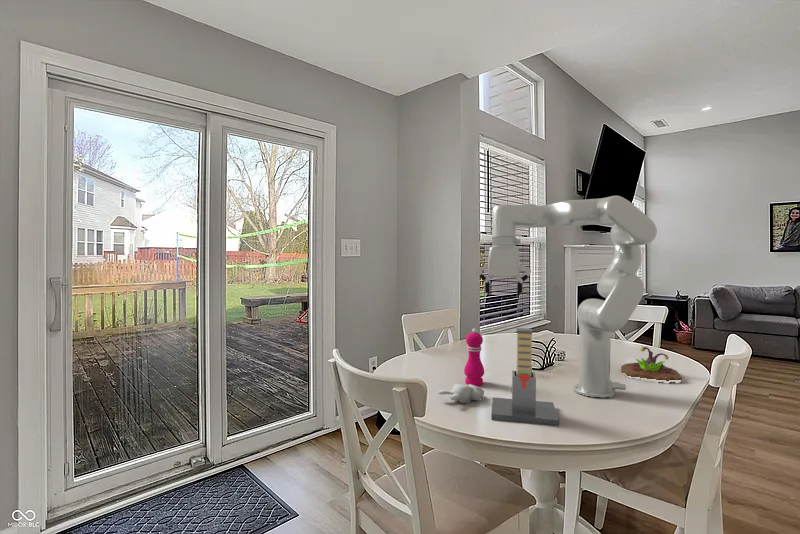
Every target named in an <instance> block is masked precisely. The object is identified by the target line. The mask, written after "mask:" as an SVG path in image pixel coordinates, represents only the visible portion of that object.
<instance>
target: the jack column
mask: <svg viewBox="0 0 800 534" xmlns="http://www.w3.org/2000/svg"><path fill="white" fill-rule="evenodd" d="M532 338H533V329H532V328H523V327H522V328H521V327H517V328H516V370H515V371H516V376H519V377H520V374H529V377H531V372H532V351H533V348H532V347H533V339H532Z"/></svg>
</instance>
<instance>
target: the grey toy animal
mask: <svg viewBox="0 0 800 534" xmlns="http://www.w3.org/2000/svg"><path fill="white" fill-rule="evenodd" d="M438 395H449V397H450V399H451V400H452V401H455V402H457V401H458V402H459V403H460V404H464V403H465V404H467V403H470V402H471V401H480V400H482V398H483V396H485V390H483V388H481V387H479V386H474V385H471V384H469V385H467V384H462V383H455V384H453V386H452V389H451V390H449V389H446V390H445V389H439V391H438Z"/></svg>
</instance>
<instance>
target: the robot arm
mask: <svg viewBox="0 0 800 534" xmlns="http://www.w3.org/2000/svg"><path fill="white" fill-rule="evenodd" d="M491 215H492V219H491V220H492V221H491V222H492V223H491V224H492V225H491V226H492V227H491V231H492V234H491V242H492V243H491V246H489V251H488V257H487V258H488V259H487V264H484V265H483V266H481V267H479V268H477V269H476V272H477V274H478V276H479V278H480V279H481V280H482V281H483V283H484V284H485V287H484V288H485V289H484V292H485V293H486V294H487V296H489V295H490V294H491V293H490V292H491V282H490V280H491V279H492V278H515V279H516V280H517V284H516V285H517V286H516V287H517V288H516V289H517V291H516V293H517V294H516V295H517V296H518V297H519V296H520V295H521V294H522V293H523V283H524V282H525V281H526V280H527V279H528V278H529V276H530V275H531V273H532V270H531V269H530V268H529V267H526V266H524V265H522V264H520V261H521V260H520V251H519V247H518V246H516V245H518V244H521V239H520V238H516V237H517V234H516V233H517V229H533V228H546V227H547V228H549V227H551V228H553V227H555V228H556V227H558V228H561V227H563V228H565V227H576V226H578V227H579V226H588V225H589V226H590V225H605V224H611V223H614V225H612V227H611V229H610V239H611V241H612V243H613V244H612V245H613V247H614V255H613V257H612V260H611V261H610V263H609V264H608V266H607V268H606V270H605V271H604V272H603V274H602V276H601V277H600V279H599V281H598V282H597V284H596V285H597V286H596V290H597V292H598V294H599V296H601V297H603V298H604V299H605V300H604V299H600V298H587V299H584V300H583V301H582V302H581V303H580V304H579V305H578V307H577V312H576V314H577V315H576V317H577V323H578V330H579V331H578V332H579V334H578V335H579V344H578V345H579V347H578V350H579V351H578V352H579V354H578V355H579V356H578V383H575V384H574V386H573V391H574V392H575V393H577V394H579V395H581V394H582V395H581V396H584V395H585V396H584V397H588V396H590V397H589V398H594V397H601V398H600V399H603V398H602V397H609V398H612V397H611V396H613V395H614V394H615V393H616V392H615V390H619V391H621V390H622V391H626V390H627V386H626V384H625V383H620V382H619V381H617V382H616V381H612V380H611V347H612V346H611V344H612V343H611V342H612V341H611V336H610V333H615V332H619V330H621V329H623V327H625V326H626V324H627V323H628V321H629V320H630V318H631V316H632V315H633V313H634V312H635V310H636V308H637V306H638V305H639V304H640V302H641V300H642V298H643V297H644V292H645V286H644V282H643V280H642V278H641V277H639V276H638V275H637V272H638V271H639V269H640V267H641V264H642V259H643V258H642V252H641V248H640V246H644V245H648V244H650V243H652V242H654V240H655V238H656V236H657V235H658V234H657V233H658V228H657V226H656V224H655V222H654V221H653V220H652V219H651V218H650V217H649V216H648V215H646V214H645V213H644V212H643V211H642V210H641V209H639V208H638V207H637V206H636V205H634V204H633V203H632V202H631V201H630V200H628V199H626V198H624V196H623V197H622V196H620V195H611V196H607V197H602V198H590V199H589V198H588V199H569V200H562V201H558V202H555V203H549V204H543V205H537V204H535V203H523V204H517V205H516V204H515V205H514V204H497V205H494V206H493V207H492V214H491ZM486 269H487V277H486V276H485V275H484V273H483V271H484V270H486ZM520 270H522V271H524V273H525V274H524V275H523V276H522V277H520ZM615 395H616V394H615ZM615 395H614V396H615ZM614 396H613V397H614Z"/></svg>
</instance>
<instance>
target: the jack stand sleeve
mask: <svg viewBox="0 0 800 534" xmlns="http://www.w3.org/2000/svg"><path fill="white" fill-rule="evenodd" d="M516 371H517V370H512V371H511V372H512V374H511V398H503V397H492V401H491V415H490V417H491V418H490V419H491V420H492V421H501V422H502V421H503V422H513V423H521V424H522V423H524V424H525V423H526V424H534V425H545V426H546V425H547V426H558V427H559V426H560V419H559V417H558V414H557V413H558V412H557V410H556V407H555V403H554V401H544V400H543V401H541V400H540V401H539V400H537V377H536V372H535V371H531V377H529V374H520V377H519V376H516Z"/></svg>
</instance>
